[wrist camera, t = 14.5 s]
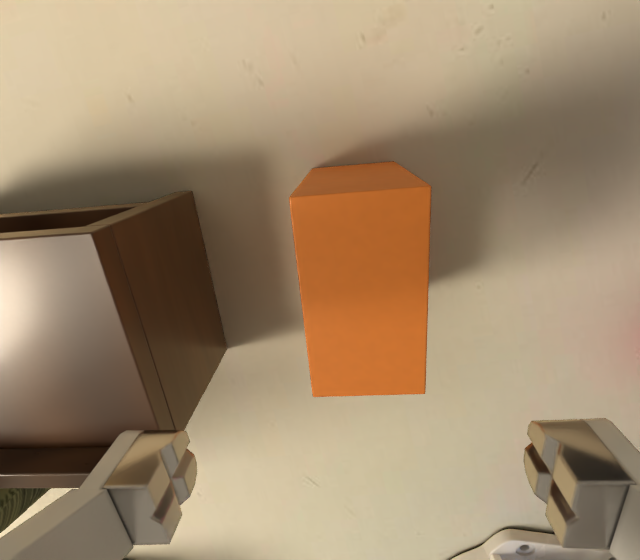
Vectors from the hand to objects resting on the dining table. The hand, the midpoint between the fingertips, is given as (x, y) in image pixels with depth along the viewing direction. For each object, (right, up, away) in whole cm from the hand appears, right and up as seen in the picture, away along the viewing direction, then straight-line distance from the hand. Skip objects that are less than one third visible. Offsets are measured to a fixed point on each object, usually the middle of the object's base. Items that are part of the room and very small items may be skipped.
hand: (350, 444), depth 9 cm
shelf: (-16, +4, +17) cm, 24 cm away
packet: (+2, +7, +15) cm, 16 cm away
